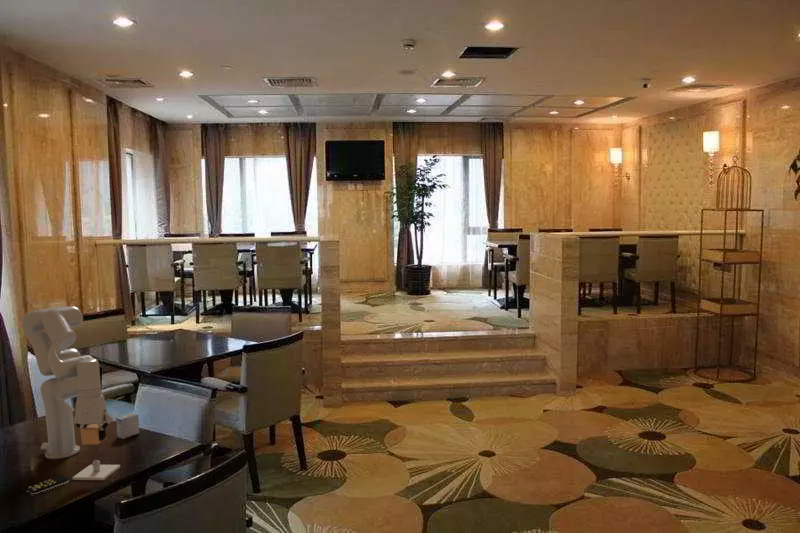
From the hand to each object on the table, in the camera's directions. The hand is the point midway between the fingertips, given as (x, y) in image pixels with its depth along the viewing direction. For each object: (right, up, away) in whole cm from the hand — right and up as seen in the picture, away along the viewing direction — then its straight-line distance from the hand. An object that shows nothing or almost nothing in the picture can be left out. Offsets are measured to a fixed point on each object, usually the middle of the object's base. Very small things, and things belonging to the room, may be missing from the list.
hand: (94, 439), depth 229 cm
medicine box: (-5, -10, +40) cm, 42 cm away
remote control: (-12, -15, -8) cm, 21 cm away
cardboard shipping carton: (0, -1, 0) cm, 1 cm away
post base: (0, -13, +1) cm, 13 cm away
